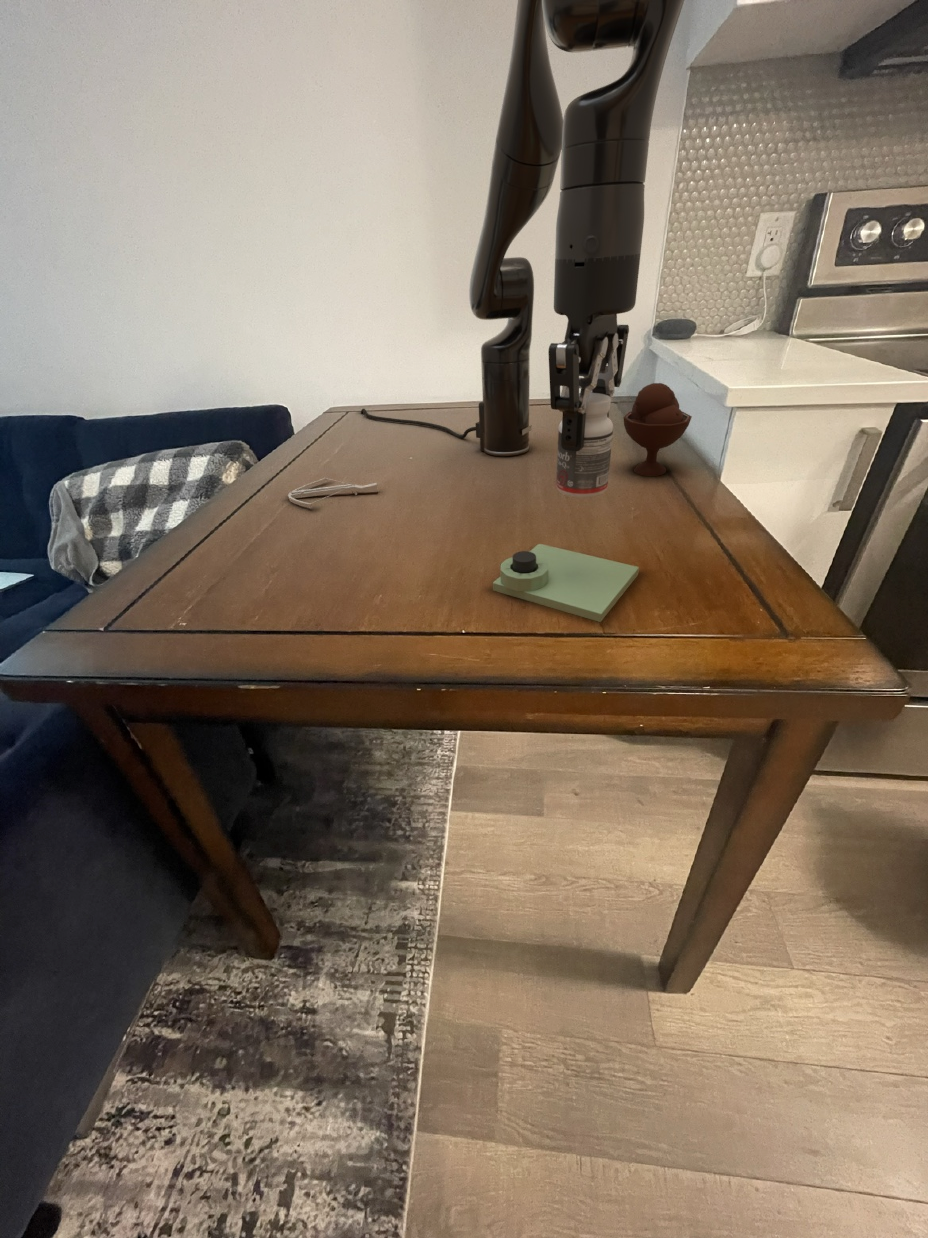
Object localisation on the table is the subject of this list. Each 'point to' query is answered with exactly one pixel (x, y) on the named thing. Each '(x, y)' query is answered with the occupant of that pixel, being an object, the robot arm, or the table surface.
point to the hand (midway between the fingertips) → (584, 440)
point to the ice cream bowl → (655, 424)
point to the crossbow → (327, 491)
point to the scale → (568, 582)
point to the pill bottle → (587, 453)
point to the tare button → (524, 562)
